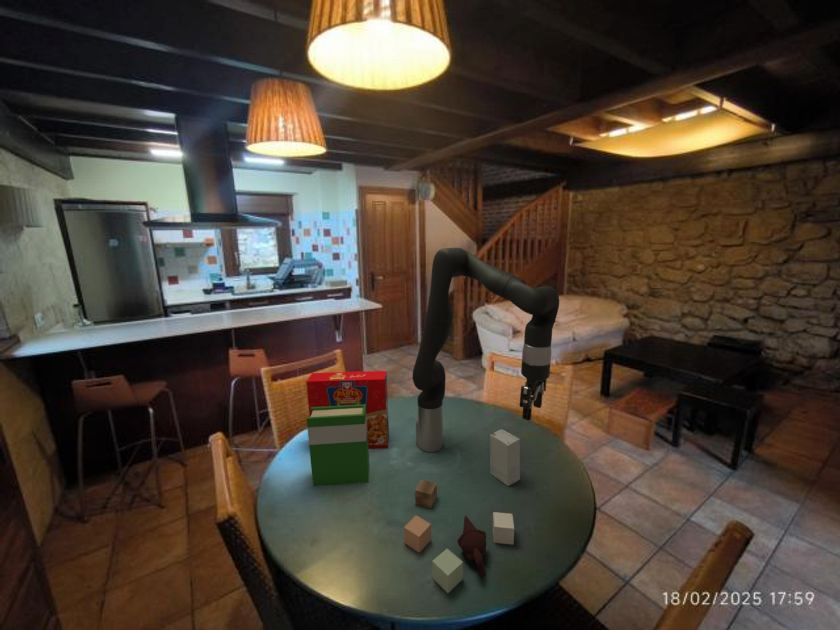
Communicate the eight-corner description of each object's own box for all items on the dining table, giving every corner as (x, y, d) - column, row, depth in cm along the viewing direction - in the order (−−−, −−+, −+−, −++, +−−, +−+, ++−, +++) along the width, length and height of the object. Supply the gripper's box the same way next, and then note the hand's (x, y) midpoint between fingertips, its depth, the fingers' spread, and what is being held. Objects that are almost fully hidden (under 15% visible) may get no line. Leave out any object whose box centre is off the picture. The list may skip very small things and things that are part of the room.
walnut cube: (415, 504, 108) (415, 489, 106) (421, 493, 112) (421, 479, 111) (431, 509, 106) (430, 494, 105) (436, 497, 110) (436, 483, 109)
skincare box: (520, 480, 117) (522, 439, 114) (507, 487, 114) (508, 445, 110) (501, 466, 124) (502, 427, 120) (488, 473, 121) (489, 433, 117)
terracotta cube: (404, 543, 94) (403, 527, 93) (416, 530, 98) (415, 515, 97) (419, 553, 91) (419, 536, 90) (431, 540, 95) (430, 524, 94)
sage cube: (432, 578, 85) (432, 561, 84) (447, 565, 88) (447, 548, 87) (447, 593, 81) (447, 575, 80) (462, 579, 84) (462, 561, 83)
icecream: (449, 510, 96) (462, 565, 82) (475, 502, 97) (493, 555, 82) (455, 529, 99) (468, 585, 85) (481, 521, 99) (498, 575, 85)
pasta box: (312, 451, 135) (306, 381, 128) (318, 439, 142) (312, 372, 136) (388, 448, 135) (385, 379, 129) (389, 436, 143) (386, 370, 137)
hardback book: (313, 486, 116) (306, 418, 110) (317, 471, 123) (311, 407, 118) (368, 482, 117) (364, 415, 112) (369, 467, 125) (365, 404, 119)
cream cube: (493, 542, 94) (494, 526, 93) (492, 527, 99) (493, 512, 98) (513, 544, 93) (514, 528, 92) (511, 529, 98) (512, 513, 97)
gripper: (532, 349, 106) (528, 399, 110) (512, 364, 95) (509, 419, 99) (558, 354, 102) (553, 406, 106) (541, 370, 91) (536, 428, 95)
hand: (532, 412), depth 103 cm, fingers open, 8 cm apart
